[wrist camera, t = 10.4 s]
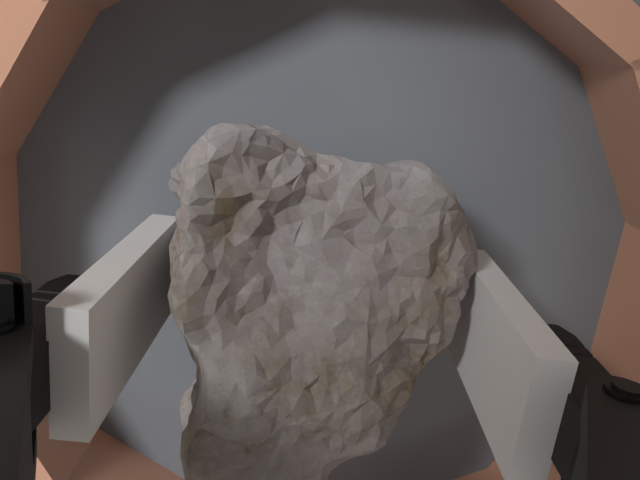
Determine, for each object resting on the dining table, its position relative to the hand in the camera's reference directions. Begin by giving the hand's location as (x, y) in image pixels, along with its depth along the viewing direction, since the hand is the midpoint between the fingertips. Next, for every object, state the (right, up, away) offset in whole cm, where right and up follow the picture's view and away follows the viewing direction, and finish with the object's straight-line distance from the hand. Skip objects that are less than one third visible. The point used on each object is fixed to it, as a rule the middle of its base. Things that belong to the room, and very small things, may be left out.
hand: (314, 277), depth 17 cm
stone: (-1, 0, +1) cm, 1 cm away
